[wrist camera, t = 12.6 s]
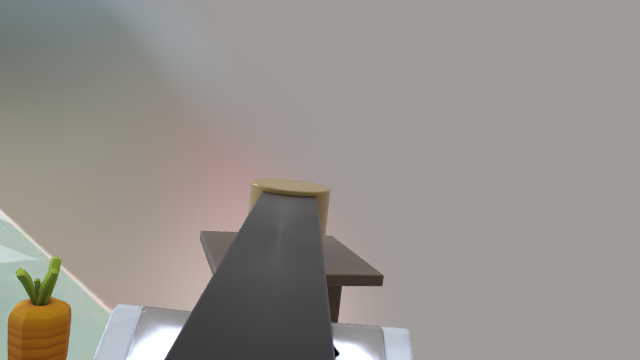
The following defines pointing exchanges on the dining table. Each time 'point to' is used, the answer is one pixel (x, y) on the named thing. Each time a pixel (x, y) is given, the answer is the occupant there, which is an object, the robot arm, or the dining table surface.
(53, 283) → the carrot
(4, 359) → the dining table surface
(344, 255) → the stand
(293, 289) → the rod
